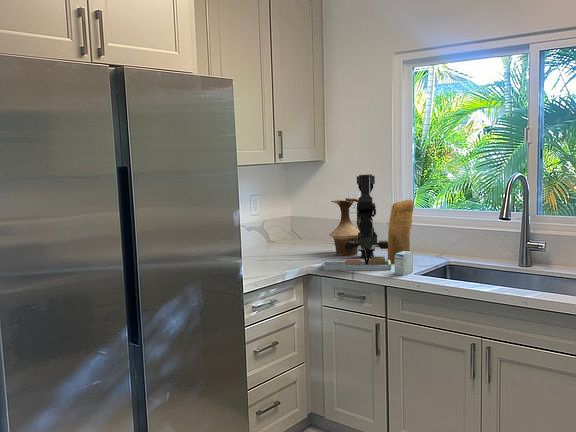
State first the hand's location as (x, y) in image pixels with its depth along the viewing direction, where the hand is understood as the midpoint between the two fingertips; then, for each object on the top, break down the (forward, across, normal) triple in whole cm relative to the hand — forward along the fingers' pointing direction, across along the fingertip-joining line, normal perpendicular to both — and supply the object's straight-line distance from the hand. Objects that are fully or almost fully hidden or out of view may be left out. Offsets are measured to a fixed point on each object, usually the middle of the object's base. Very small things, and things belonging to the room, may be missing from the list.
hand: (366, 264), depth 253 cm
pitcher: (+2, -10, +34) cm, 35 cm away
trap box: (+2, -5, +2) cm, 5 cm away
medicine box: (+2, +15, -11) cm, 19 cm away
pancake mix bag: (+2, +15, +14) cm, 20 cm away
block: (+2, +5, 0) cm, 5 cm away
